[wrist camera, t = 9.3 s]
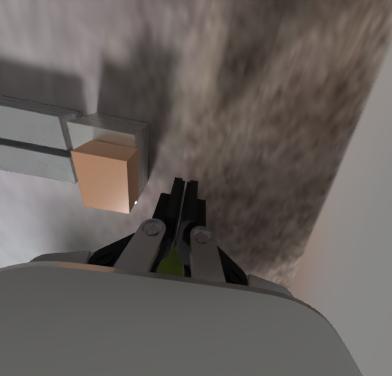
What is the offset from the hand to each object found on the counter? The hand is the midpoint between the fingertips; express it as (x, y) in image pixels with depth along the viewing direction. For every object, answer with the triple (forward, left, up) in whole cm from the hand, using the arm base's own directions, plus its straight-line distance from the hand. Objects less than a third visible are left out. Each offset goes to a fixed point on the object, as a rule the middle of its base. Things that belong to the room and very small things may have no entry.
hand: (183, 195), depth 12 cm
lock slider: (+6, 0, -2) cm, 6 cm away
